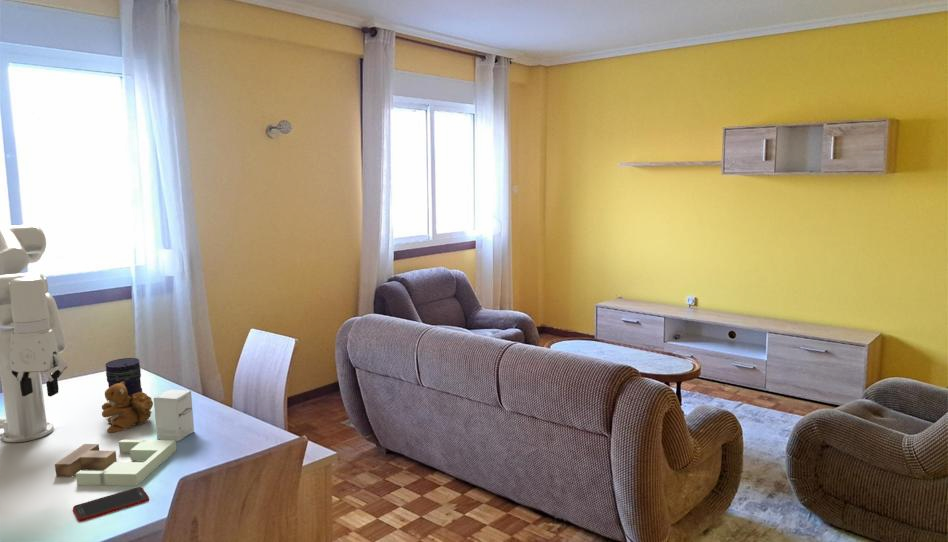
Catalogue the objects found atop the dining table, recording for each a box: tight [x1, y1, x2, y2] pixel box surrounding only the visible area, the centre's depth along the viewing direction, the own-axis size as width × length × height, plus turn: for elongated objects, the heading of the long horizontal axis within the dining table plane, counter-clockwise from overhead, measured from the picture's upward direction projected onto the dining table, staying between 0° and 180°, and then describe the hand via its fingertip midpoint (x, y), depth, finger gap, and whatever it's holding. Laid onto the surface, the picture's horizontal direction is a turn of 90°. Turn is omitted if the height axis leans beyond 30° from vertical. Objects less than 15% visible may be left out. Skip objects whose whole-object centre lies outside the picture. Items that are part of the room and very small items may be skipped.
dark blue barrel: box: [105, 357, 143, 402], centre depth 216 cm, size 10×10×15 cm
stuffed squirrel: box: [101, 382, 154, 433], centre depth 202 cm, size 10×14×13 cm
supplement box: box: [153, 389, 195, 442], centre depth 193 cm, size 7×7×13 cm
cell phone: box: [72, 486, 150, 522], centre depth 156 cm, size 8×15×1 cm, turn 130°
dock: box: [75, 439, 177, 487], centre depth 175 cm, size 15×20×3 cm
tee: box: [54, 443, 118, 478], centre depth 175 cm, size 11×12×4 cm
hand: (40, 394), depth 173 cm, fingers open, 6 cm apart
